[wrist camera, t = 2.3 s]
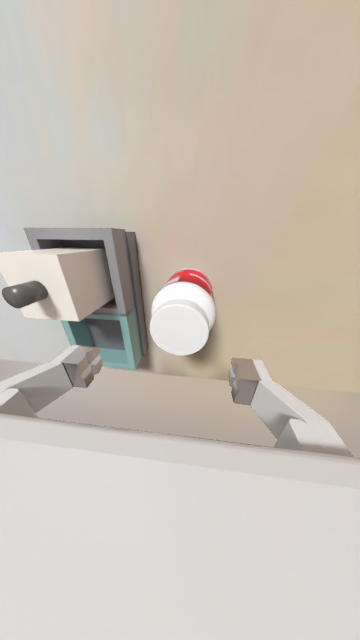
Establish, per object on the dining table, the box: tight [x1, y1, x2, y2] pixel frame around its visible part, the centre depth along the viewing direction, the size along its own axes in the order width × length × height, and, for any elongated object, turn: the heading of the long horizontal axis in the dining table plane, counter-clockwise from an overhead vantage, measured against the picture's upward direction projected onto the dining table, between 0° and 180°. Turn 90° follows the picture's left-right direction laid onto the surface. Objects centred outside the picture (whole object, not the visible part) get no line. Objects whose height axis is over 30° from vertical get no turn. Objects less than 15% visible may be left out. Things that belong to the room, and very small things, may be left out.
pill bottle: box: [150, 268, 216, 355], centre depth 17 cm, size 6×6×11 cm
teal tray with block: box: [0, 228, 148, 370], centre depth 19 cm, size 10×18×12 cm, turn 179°
